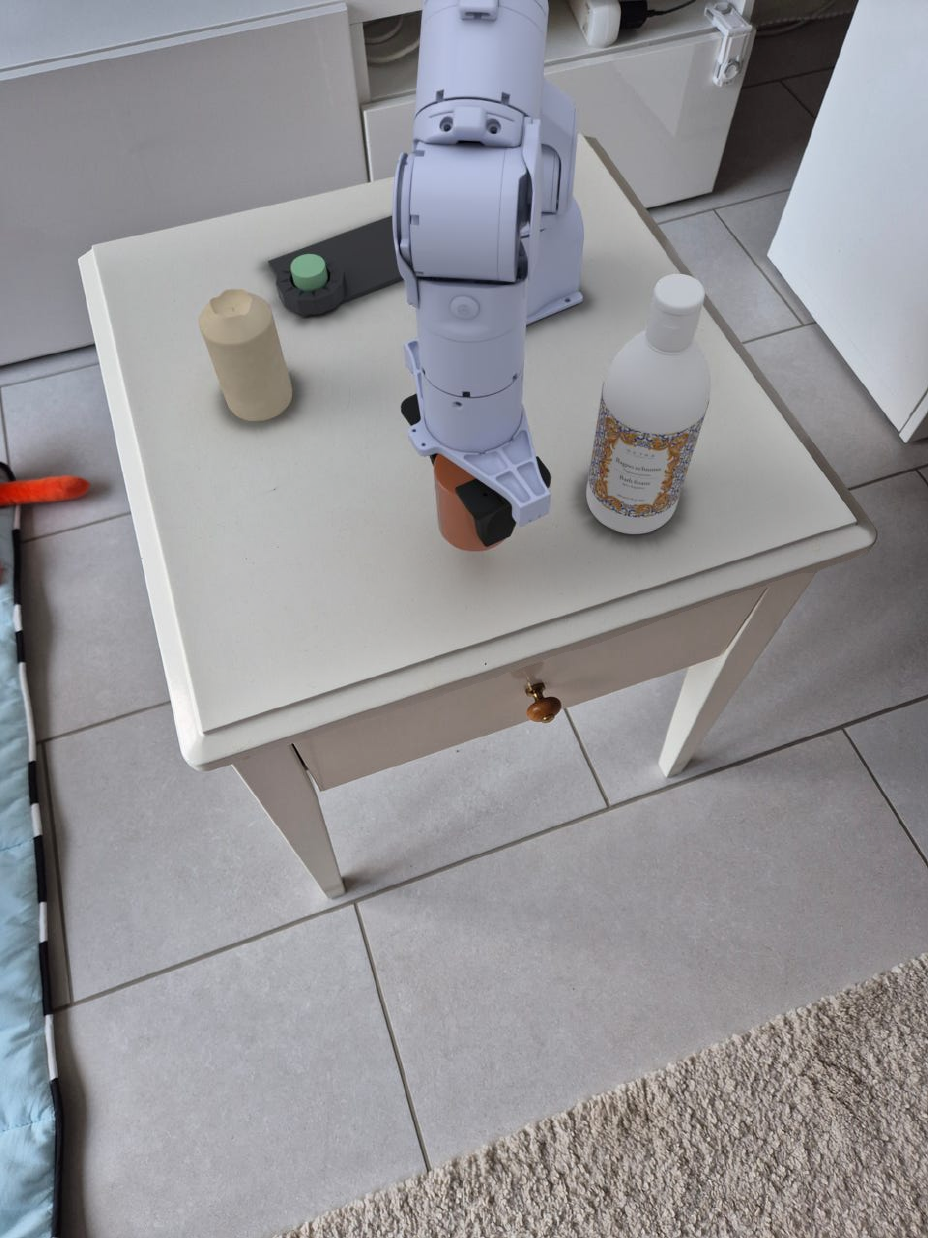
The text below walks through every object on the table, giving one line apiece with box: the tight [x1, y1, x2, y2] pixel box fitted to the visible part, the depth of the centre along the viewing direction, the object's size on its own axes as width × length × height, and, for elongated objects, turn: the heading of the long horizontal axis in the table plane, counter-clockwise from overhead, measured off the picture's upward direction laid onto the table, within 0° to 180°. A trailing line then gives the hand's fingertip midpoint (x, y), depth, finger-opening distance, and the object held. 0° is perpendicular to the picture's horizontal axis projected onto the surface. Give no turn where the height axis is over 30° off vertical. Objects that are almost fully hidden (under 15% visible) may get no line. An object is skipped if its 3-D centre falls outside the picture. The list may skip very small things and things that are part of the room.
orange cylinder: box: [433, 453, 506, 553], centre depth 60 cm, size 5×5×6 cm
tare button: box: [291, 254, 328, 291], centre depth 78 cm, size 3×3×2 cm
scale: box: [267, 214, 404, 319], centre depth 81 cm, size 15×9×2 cm, turn 119°
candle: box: [198, 288, 293, 422], centre depth 71 cm, size 6×6×10 cm
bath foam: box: [585, 273, 712, 535], centre depth 60 cm, size 7×7×20 cm
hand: (474, 506), depth 61 cm, fingers closed on orange cylinder, 5 cm apart
